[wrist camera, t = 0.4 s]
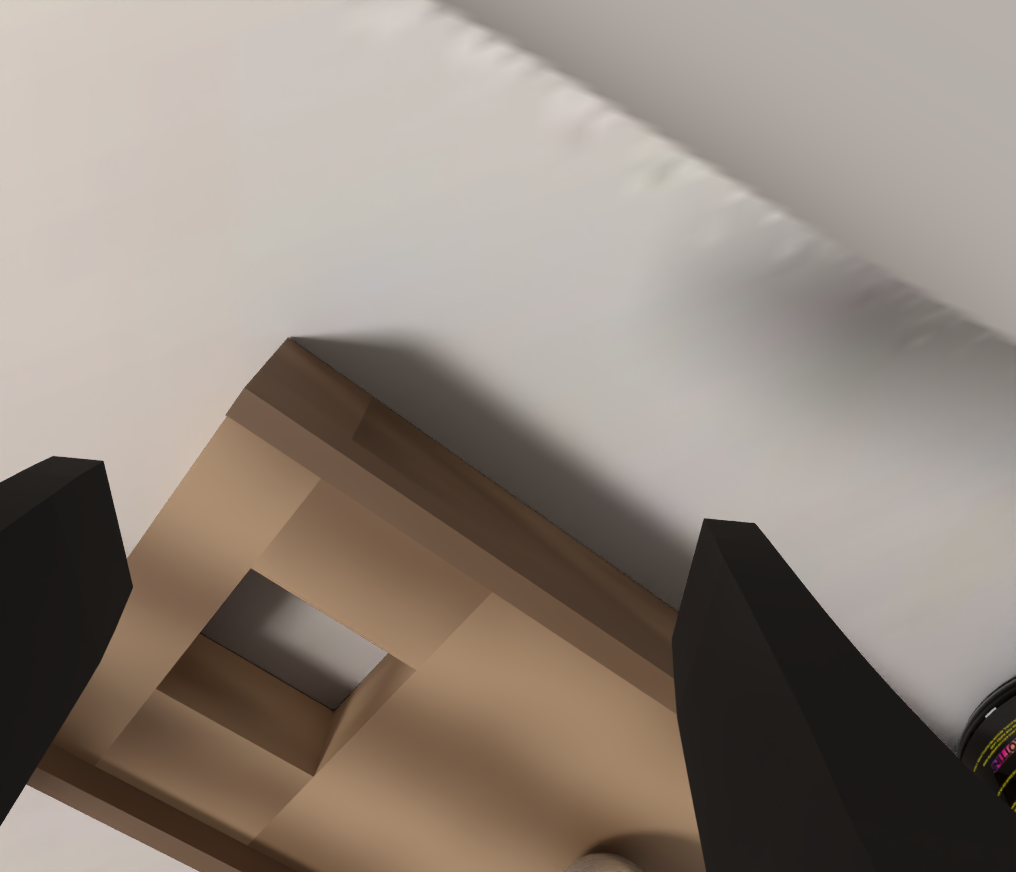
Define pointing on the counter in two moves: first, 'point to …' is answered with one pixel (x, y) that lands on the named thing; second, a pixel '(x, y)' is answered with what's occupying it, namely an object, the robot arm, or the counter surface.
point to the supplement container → (993, 742)
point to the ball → (602, 864)
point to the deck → (378, 666)
